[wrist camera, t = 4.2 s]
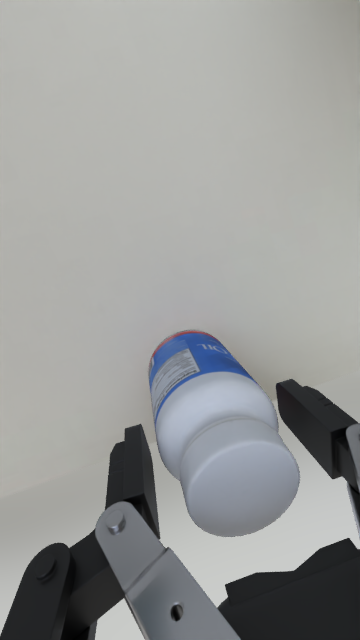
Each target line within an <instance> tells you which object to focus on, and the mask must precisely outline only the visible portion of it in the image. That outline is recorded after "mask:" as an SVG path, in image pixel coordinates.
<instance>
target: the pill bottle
mask: <svg viewBox="0 0 360 640" xmlns="http://www.w3.org/2000/svg"><path fill="white" fill-rule="evenodd" d="M149 384H150V391H151V401H152V409H153V416H154V424H155V432H156V439H157V445H158V450H159V453H160V456H161V459H162V461H163V463H164V465H165V467H166V468H167V469H168V471H169V472H170V473H171V474H172V475H173V476H174V477H175V478H176V479H178V480H179V481H180V483H181V486H182V489H183V494H184V498H185V502H186V506H187V510H188V512H189V515H190V517H191V518H192V520H193V521H194V522H195V524H196V525H197V526H198V527H200V528H201V529H202V530H204V531H206V532H208V533H210V534H214V535H217V536H222V537H235V536H243V535H246V534H251V533H254V532H256V531H258V530H260V529H263V528H264V527H266V526H268V525H270V524H271V523H272V522H274V521H275V520H276V519H278V518H279V517H280V516H281V515H282V514H283V513H284V512H285V511H286V510H287V508H288V507H289V506H290V504H291V503H292V501H293V499H294V498H295V496H296V494H297V491H298V487H299V483H300V482H299V481H300V474H299V473H300V472H299V467H298V464H297V462H296V460H295V459H294V457H293V455H292V453H291V452H290V451H289V449H288V448H287V447H286V445H285V444H284V442H283V440H282V438H281V437H280V435H279V434H278V419H277V414H276V410H275V409H274V406H273V403H272V402H271V400H270V398H269V397H268V396H267V394H266V393H265V392H264V391H263V389H262V388H261V387H260V386H259V385H258V383H257V382H256V381H255V380H254V379H253V378H252V377H251V376H250V375H249V374H248V373H247V372H246V371H245V369H244V368H243V367H242V366H241V365H240V364H239V363H238V362H237V361H236V359H235V358H234V357H233V356H232V355H231V354H230V353H229V352H228V350H227V349H226V348H225V347H224V346H223V345H222V344H221V343H220V342H219V341H218V340H217V339H216V338H214V337H213V336H211V335H210V334H208V333H205V332H202V331H196V330H188V331H182V332H178V333H176V334H173V335H171V336H170V337H168V338H166V339H165V340H164V341H163V342H161V343H160V344H159V346H158V347H157V348H156V349H155V351H154V353H153V355H152V357H151V360H150V364H149Z"/></svg>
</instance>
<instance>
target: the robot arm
mask: <svg viewBox="0 0 360 640" xmlns="http://www.w3.org/2000/svg"><path fill="white" fill-rule="evenodd" d="M276 392H277V400H278V409H279V413H280V416H281V418H282V420H283V422H284V423H285V424H286V425H287V426H288V428H289V429H290V430H291V431H292V432H293V433H294V435H295V436H296V437H297V438H298V439H299V441H300V442H301V443H302V444H303V445H304V446H305V448H306V449H307V450H308V451H309V452H310V454H311V455H312V456H313V457H314V458H315V459H316V460H317V462H318V463H319V464H320V465H321V466H322V468H323V469H324V470H325V471H326V472H327V473H328V475H329V476H330V477H331V478H332V479H335V478H338V477H341V476H343V477H344V478H345V480H346V481H347V489H348V493H349V497H350V501H351V505H352V509H353V513H354V517H355V521H356V525H357V529H358V533H359V538H360V424H359V423H358V422H357V421H355V420H354V419H353V418H352V417H350V416H349V415H348V414H347V413H345V412H344V411H343V410H341V409H340V408H339V407H338V406H337V405H335V404H333V402H331V401H330V400H329V399H328V398H326V397H325V396H324V395H323V394H321V393H320V392H319V391H318V390H315V389H313V388H311V387H308V386H304V387H302V386H301V385H299V384H298V383H297V382H296V381H295V380H293V379H289V380H286V381H283V382H279V383H277V384H276ZM159 539H160V532H159V522H158V512H157V503H156V493H155V483H154V473H153V463H152V458H151V453H150V449H149V446H148V443H147V440H146V437H145V434H144V430H143V427H142V425H141V424H139V425H135V426H132V427H129V428H125V441H123V442H120V443H117V444H115V446H114V448H113V450H112V452H111V454H110V466H109V475H108V485H107V495H106V506H105V511H104V512H103V513H102V514H101V516H100V517H99V519H98V521H97V524H96V528H95V529H94V530H93V531H92V532H91V533H90V534H89V535H88V536H86V537H85V538H83V539H82V540H81V541H79V542H78V543H76V544H75V545H73V546H72V547H70V548H68V546H67V545H65V544H63V543H54V544H51V545H49V546H47V547H46V548H44V549H43V550H41V551H40V552H39V553H38V554H37V555H36V556H35V557H34V558H33V560H32V561H31V562H30V563H29V565H28V567H27V568H26V570H25V572H24V575H23V577H22V580H21V583H20V585H19V588H18V591H17V593H16V596H15V599H14V601H13V604H12V607H11V609H10V612H9V614H8V617H7V620H6V623H5V625H4V628H3V630H2V633H1V636H0V640H95V633H96V626H97V620H98V619H99V618H100V617H101V616H102V615H104V614H105V613H106V612H107V611H108V610H110V609H111V608H112V607H113V606H114V605H116V604H117V603H118V602H119V601H120V600H122V599H123V598H124V599H125V601H126V603H127V605H128V607H129V609H130V610H131V613H132V614H133V617H134V619H135V621H136V623H137V624H138V627H139V629H140V631H141V632H142V635H143V636H144V639H145V640H360V549H357V548H356V547H355V545H354V544H353V543H352V541H351V540H350V539H349V538H347V539H344V540H342V541H339V542H336V543H334V544H331V545H328V546H326V547H323V548H320V549H319V550H318V551H316V552H315V553H314V554H313V555H312V556H311V557H310V558H309V559H307V560H306V561H305V562H304V563H303V564H302V565H300V566H299V567H298V568H297V569H296V570H294V571H288V572H261V573H254V574H252V575H249V576H246V577H244V578H241V579H239V580H236V581H233V582H231V583H228V584H226V585H225V587H226V591H227V595H228V598H227V599H226V600H225V601H223V602H222V603H221V604H220V605H219V607H218V608H216V606H215V605H214V604H213V602H212V601H211V600H210V598H209V597H208V596H207V595H206V593H205V592H204V591H203V589H202V588H201V587H200V585H199V584H198V583H197V582H196V580H195V579H194V578H193V576H192V575H191V574H190V572H189V571H188V570H187V569H186V567H185V566H184V565H183V563H182V562H181V561H180V560H179V558H178V557H177V556H176V554H175V553H174V552H173V551H172V550H171V549H170V548H169V547H167V548H165V547H164V546H163V545H162V543H161V542H160V541H159Z"/></svg>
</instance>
